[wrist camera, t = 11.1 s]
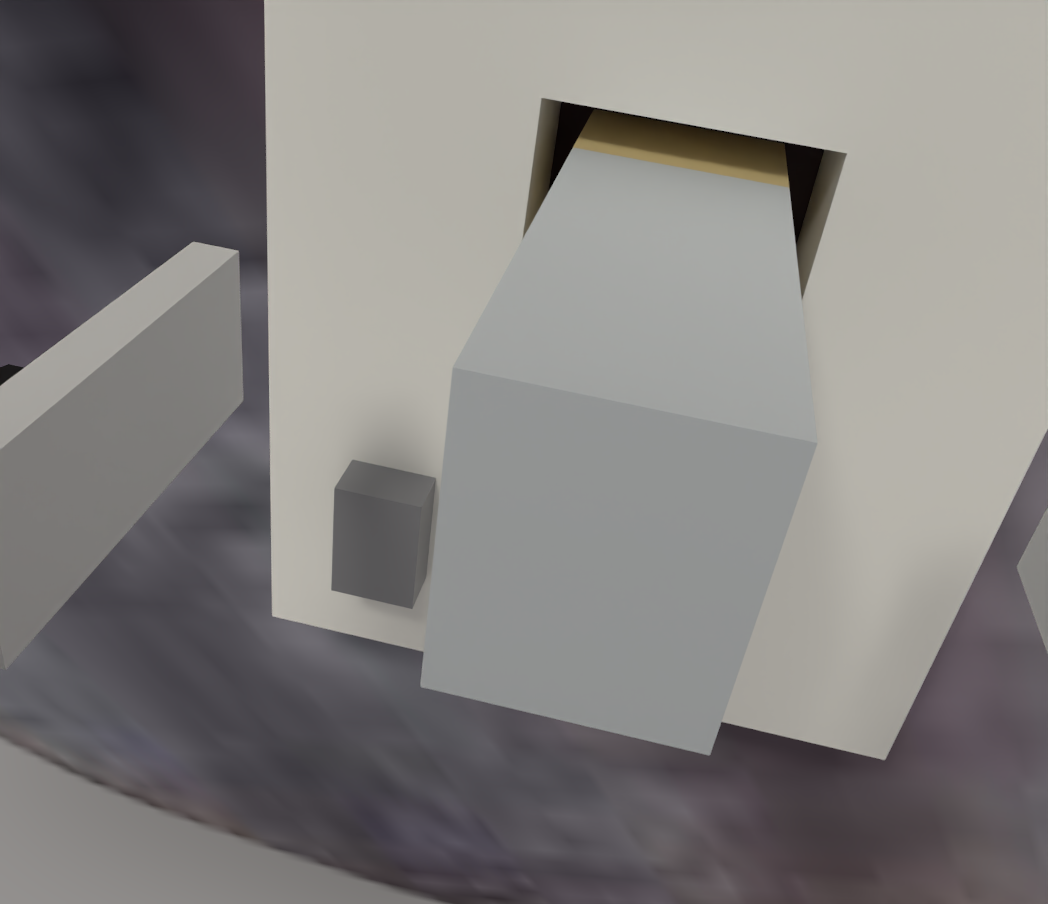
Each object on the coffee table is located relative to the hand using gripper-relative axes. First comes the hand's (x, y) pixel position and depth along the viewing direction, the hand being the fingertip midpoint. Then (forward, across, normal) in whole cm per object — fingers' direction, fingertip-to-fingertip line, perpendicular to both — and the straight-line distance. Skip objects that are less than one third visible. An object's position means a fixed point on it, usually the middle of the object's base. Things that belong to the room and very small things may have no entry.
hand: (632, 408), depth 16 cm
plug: (+8, 0, 0) cm, 8 cm away
